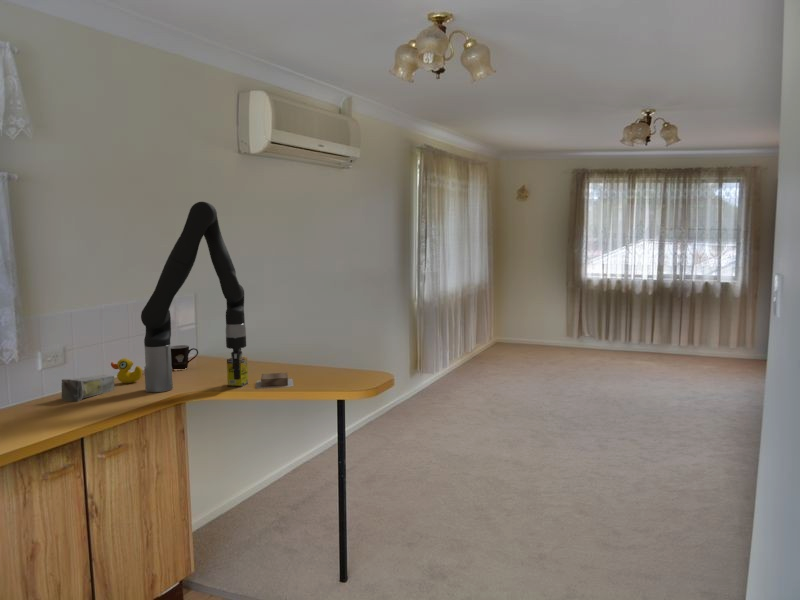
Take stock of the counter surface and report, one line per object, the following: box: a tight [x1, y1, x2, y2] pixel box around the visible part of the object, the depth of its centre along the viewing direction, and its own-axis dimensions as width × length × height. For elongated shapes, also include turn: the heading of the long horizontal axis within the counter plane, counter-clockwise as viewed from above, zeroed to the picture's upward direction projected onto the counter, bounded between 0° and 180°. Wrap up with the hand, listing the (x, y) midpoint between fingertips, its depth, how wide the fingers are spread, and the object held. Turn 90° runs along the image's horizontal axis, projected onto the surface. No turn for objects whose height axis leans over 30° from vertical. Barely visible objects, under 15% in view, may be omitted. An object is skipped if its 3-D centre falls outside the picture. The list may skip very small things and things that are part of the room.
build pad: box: [255, 378, 294, 390], centre depth 248 cm, size 14×14×1 cm
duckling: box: [110, 358, 143, 384], centre depth 254 cm, size 11×5×10 cm, turn 109°
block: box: [61, 374, 115, 403], centre depth 236 cm, size 19×8×8 cm, turn 159°
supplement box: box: [226, 356, 249, 388], centre depth 246 cm, size 6×6×11 cm
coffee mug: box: [171, 344, 199, 369], centre depth 280 cm, size 12×9×10 cm
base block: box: [260, 372, 289, 387], centre depth 248 cm, size 10×10×3 cm
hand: (237, 377), depth 246 cm, fingers closed on supplement box, 7 cm apart
